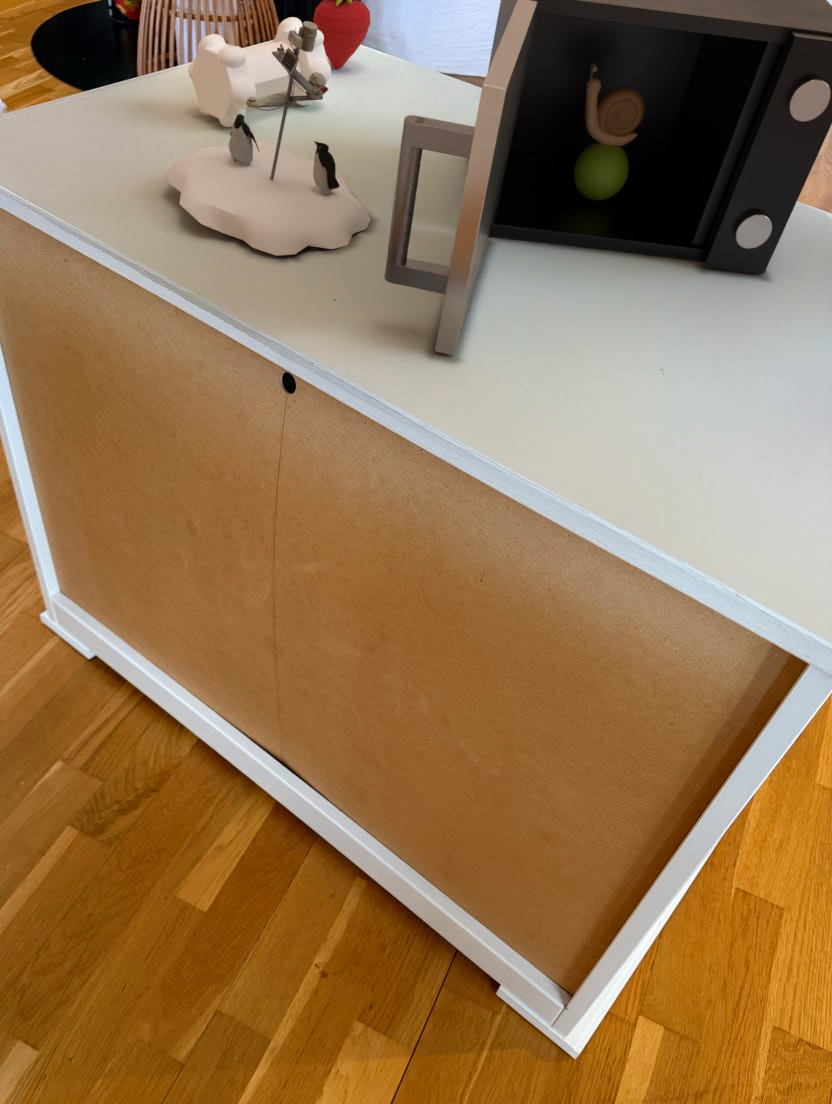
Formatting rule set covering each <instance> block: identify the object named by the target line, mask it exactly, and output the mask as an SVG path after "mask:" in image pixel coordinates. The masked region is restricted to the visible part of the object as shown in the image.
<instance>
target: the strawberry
mask: <svg viewBox="0 0 832 1104" xmlns="http://www.w3.org/2000/svg"><path fill="white" fill-rule="evenodd" d="M312 20H313V23H314V24H316V25H317V27H318V28H317V29H318V30H320V31H321V32H322V33H323V36H324V41H323V46H324V49H325V53H326V57H327V60H328V61H329V62H330V64H331V66H332V67H333V68H334V69H337V70H339V69H341V68H343V67H344V66H345V64H346V63H347V61H348V60H349V59H351V57H352V56H353V55H354V54H355V53H356V51H357V50H358V48H359V47H360V46H361V45H362V43H363V42H364V41H365V39H366V37H367V34H368V31H369V28H370V26H371V12H370V9H369V8H368V6H367V5H366V4H365V3H364V2H362V1H360V0H322V1H321V2H320V3H319V4H318V5H317V6H316V8H315V11H314V15H313V19H312Z"/></svg>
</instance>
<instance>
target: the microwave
mask: <svg viewBox="0 0 832 1104" xmlns="http://www.w3.org/2000/svg"><path fill="white" fill-rule="evenodd" d="M517 1H518V0H500V3H499V8H498V14H497V19H496V25H495V30H494V35H493V40H492V46H491V47H492V48H491V51H490V57H489V64H488V67H487V68H488V69H487V72H488V71H489V69H490V66H491V64H492V61H493V59H494V56H495V54H496V52H497V49H498V47H499V44H500V42H501V39H502V37H503V35H504V32H505V30H506V27H507V25H508V22H509V20H510V18H511V15H512V13H513V10H514V8H515V5H516V3H517ZM531 1H537V8H536V12H535V17H534V22H533V27H532V32H531V36H530V41H529V46H528V51H527V56H526V60H525V65H524V70H523V75H522V80H521V84H520V89H519V94H518V99H517V104H516V108H515V113H514V118H513V123H512V128H511V132H510V137H509V142H508V147H507V152H506V156H505V161H504V166H503V171H502V176H501V180H500V185H499V190H498V195H497V200H496V204H495V209H494V214H493V219H492V224H491V228H490V233H489V237H495V238H500V239H501V238H503V239H510V240H519V241H529V242H536V243H545V244H552V245H560V246H570V247H578V248H586V249H596V250H601V251H602V250H603V251H610V252H619V253H628V254H635V255H636V254H638V255H645V256H652V257H654V256H655V257H663V258H671V259H678V260H685V261H686V260H687V261H696V262H701V264H702V265H703V268H707V269H708V268H709V269H716V270H724V271H725V270H726V271H735V272H742V273H750V274H759V275H765V273H766V270H767V268H768V266H769V264H770V262H771V260H772V257H773V255H774V253H775V251H776V249H777V246H778V243H779V242H780V240H781V237H782V236H783V234H784V231H785V228H786V227H787V224H788V223H789V220H790V218H791V215H792V213H793V211H794V209H795V206H796V204H797V202H798V200H799V197H800V196H801V193H802V191H803V189H804V187H805V184H806V182H807V180H808V177H809V175H810V174H811V171H812V168H813V166H814V165H815V162H816V160H817V158H818V156H819V154H820V151H821V149H822V146H823V145H824V142H825V140H826V138H827V136H828V134H829V131H830V128H831V127H832V4H831V3H830V2H829V1H828V0H531ZM592 63H595V64H596V66H597V71H596V72H594V73H593V72H592V73H593V76H592V73H591V68H590V67H591V64H592ZM590 74H591V77H592V78H597V79H599V80H600V82H601V89H600V91H599V93H598V98H597V108H598V106H599V104H600V102H601V100H602V99H603V98H604V97H605V96H606V95H607V94H608V93H609V92H611V91H612V90H614V89H617V88H621V87H629V88H633V89H634V90H636V91H638V92H639V93H640V95H641V96H642V98H643V100H644V105H645V110H644V116H643V119H642V121H641V123H640V124H639V126H638V127H637V128H636V129H635V130H633V131H632V132H631V133H637V136H636V137H635V138H634V139H633V140H632V141H630V142H629V143H627V144H625V145H622V146H620V147H621V148H622V149H623V150H624V151H625V153H626V155H627V158H628V162H629V172H628V176H627V179H626V182H625V184H624V185H623V187H622V188H621V189H620V190H619V191H618V192H617V193H616V194H615V195H614V196H612V197H610V198H608V199H605V200H591V199H588V198H586V197H585V196H583V195H582V194H581V193H580V192H579V190H578V189H577V187H576V185H575V182H574V175H573V173H574V166H575V163H576V160H577V158H578V156H579V155H580V153H581V152H582V151H583V150H584V149H585V148H586V147H587V146H589V145H590V144H592V143H594V142H597V141H596V140H595V139H594V138H593V137H592V136H591V135H590V134H589V133H588V130H587V127H586V122H585V103H586V86H587V85H586V83H587V82H588V80H590Z"/></svg>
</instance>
